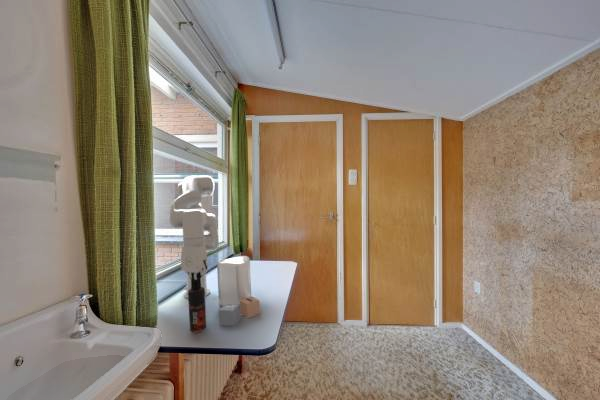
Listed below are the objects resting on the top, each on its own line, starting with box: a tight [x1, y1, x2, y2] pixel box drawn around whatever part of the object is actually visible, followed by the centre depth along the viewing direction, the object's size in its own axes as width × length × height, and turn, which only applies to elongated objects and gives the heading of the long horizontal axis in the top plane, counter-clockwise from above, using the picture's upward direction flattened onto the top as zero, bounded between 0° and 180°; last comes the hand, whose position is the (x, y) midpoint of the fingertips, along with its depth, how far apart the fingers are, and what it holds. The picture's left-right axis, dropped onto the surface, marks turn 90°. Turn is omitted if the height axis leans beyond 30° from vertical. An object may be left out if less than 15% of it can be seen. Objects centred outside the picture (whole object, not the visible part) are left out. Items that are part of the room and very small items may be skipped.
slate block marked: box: [218, 304, 241, 327], centre depth 107 cm, size 6×6×6 cm
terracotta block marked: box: [240, 295, 261, 319], centre depth 114 cm, size 6×6×6 cm
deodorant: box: [188, 287, 207, 333], centre depth 103 cm, size 6×6×15 cm
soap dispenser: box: [216, 255, 252, 307], centre depth 126 cm, size 15×14×22 cm
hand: (196, 288), depth 103 cm, fingers closed
